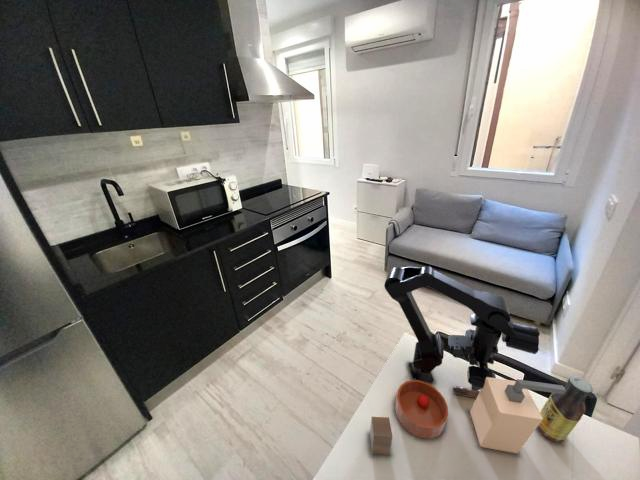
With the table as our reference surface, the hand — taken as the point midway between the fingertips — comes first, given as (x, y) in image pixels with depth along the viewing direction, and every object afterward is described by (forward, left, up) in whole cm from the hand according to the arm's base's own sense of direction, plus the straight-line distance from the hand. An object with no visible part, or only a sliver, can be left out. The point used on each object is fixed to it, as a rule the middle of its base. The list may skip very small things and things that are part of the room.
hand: (472, 376), depth 77 cm
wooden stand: (+17, -29, -6) cm, 34 cm away
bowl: (+8, -17, -6) cm, 20 cm away
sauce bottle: (+11, +16, -6) cm, 20 cm away
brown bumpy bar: (+2, -1, -3) cm, 4 cm away
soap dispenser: (+12, +3, -6) cm, 14 cm away
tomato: (+6, -16, -3) cm, 17 cm away
